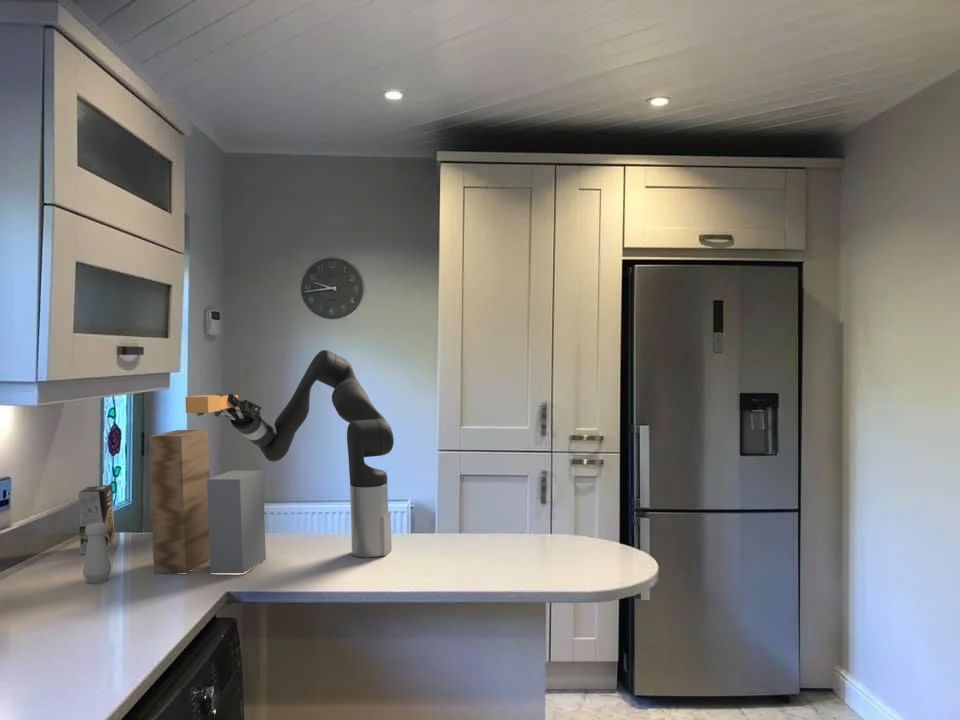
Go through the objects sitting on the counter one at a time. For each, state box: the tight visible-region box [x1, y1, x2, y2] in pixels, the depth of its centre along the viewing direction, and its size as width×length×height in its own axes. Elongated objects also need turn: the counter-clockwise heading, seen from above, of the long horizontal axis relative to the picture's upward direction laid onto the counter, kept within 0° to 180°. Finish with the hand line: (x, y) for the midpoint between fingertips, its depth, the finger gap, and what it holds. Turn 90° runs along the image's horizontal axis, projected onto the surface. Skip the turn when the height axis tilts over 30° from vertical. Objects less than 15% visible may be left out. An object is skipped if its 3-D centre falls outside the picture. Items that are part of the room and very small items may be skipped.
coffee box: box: [78, 484, 115, 555], centre depth 195 cm, size 9×6×16 cm
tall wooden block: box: [148, 429, 211, 574], centre depth 177 cm, size 8×12×32 cm, turn 171°
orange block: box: [184, 394, 239, 414], centre depth 195 cm, size 6×19×4 cm, turn 171°
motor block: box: [207, 469, 267, 574], centre depth 175 cm, size 8×12×22 cm, turn 171°
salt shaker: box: [82, 523, 112, 585], centre depth 168 cm, size 6×6×13 cm
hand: (223, 397), depth 199 cm, fingers closed on orange block, 3 cm apart
